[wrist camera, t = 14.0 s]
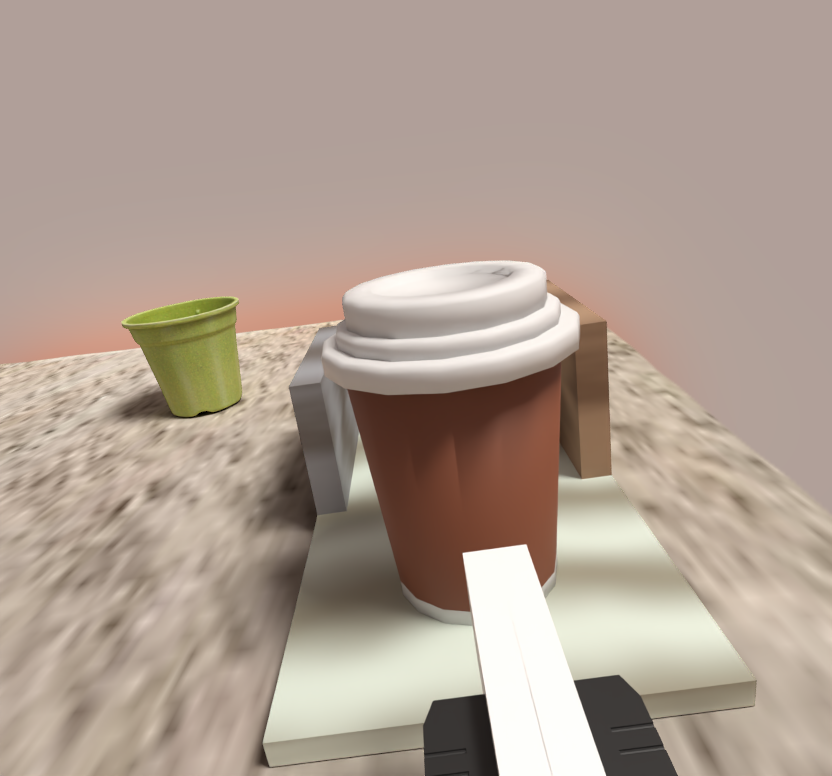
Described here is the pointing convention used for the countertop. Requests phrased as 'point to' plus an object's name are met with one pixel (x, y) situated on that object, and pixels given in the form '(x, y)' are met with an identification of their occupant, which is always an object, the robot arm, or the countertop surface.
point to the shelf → (454, 644)
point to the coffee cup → (458, 416)
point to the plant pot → (192, 353)
